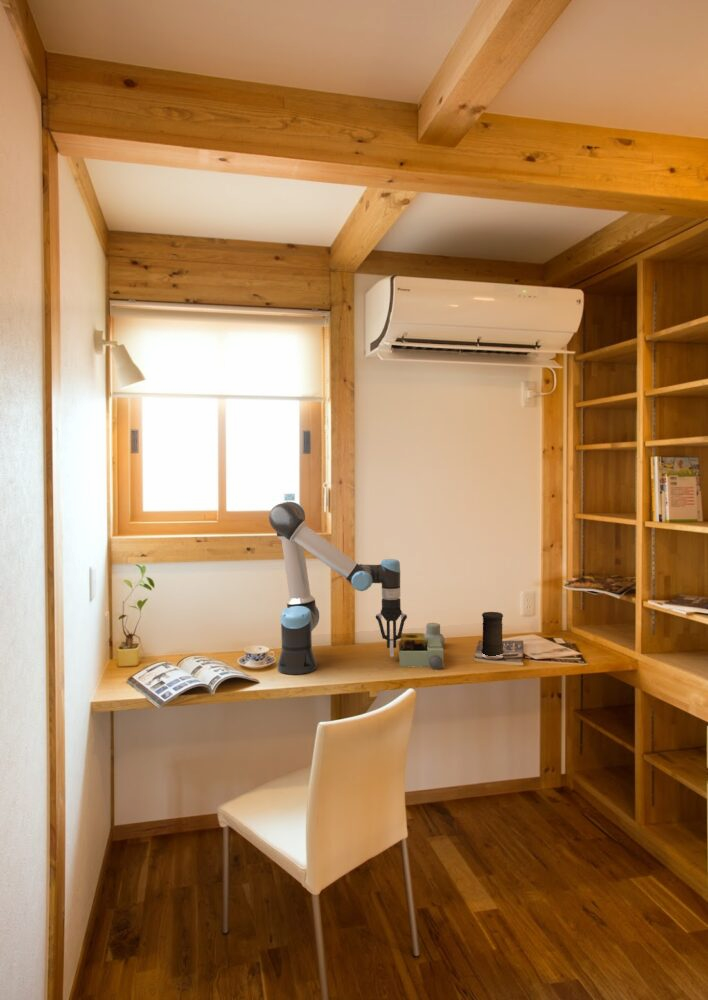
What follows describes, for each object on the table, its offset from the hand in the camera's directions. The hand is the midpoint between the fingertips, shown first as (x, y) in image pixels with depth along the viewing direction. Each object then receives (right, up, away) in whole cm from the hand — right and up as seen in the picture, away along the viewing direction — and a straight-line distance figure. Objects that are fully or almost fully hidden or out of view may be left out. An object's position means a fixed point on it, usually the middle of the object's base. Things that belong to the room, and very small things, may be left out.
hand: (391, 655), depth 262 cm
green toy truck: (+11, -2, -1) cm, 11 cm away
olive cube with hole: (+9, -2, 0) cm, 9 cm away
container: (+41, -2, +3) cm, 42 cm away
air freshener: (+19, -1, +19) cm, 27 cm away
